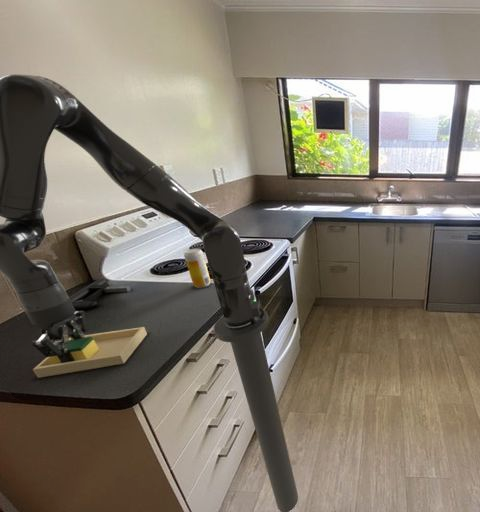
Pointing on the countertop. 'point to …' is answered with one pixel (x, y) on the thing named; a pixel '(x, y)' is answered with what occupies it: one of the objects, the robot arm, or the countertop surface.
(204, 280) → the white and yellow cylinder
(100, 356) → the tray
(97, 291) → the door handle
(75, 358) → the sponge
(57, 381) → the countertop surface
